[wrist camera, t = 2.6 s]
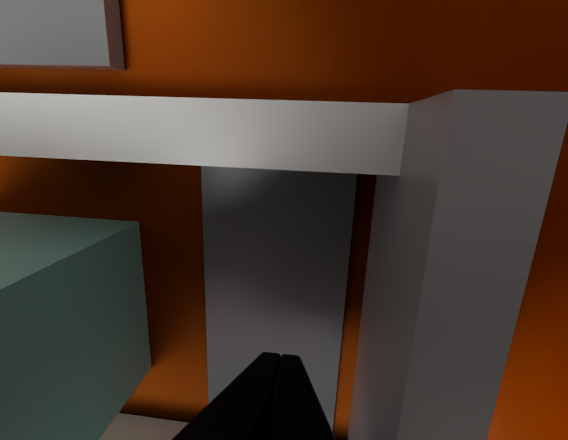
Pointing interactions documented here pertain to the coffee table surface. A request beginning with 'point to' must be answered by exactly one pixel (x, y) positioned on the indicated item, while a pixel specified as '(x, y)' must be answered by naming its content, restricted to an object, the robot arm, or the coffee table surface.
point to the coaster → (61, 34)
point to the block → (69, 324)
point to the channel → (342, 235)
